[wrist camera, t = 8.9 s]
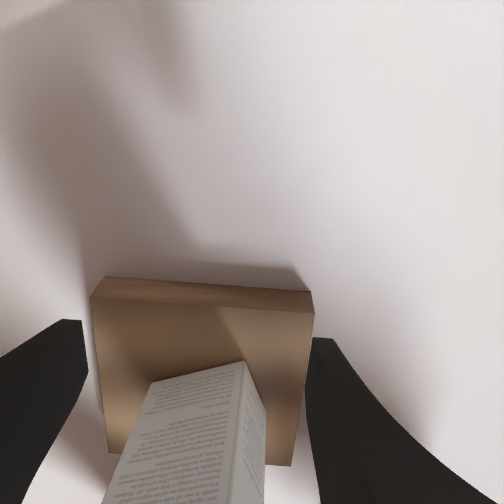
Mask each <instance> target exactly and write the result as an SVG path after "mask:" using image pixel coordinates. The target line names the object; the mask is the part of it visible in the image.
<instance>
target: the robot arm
mask: <svg viewBox="0 0 504 504" xmlns="http://www.w3.org/2000/svg"><path fill="white" fill-rule="evenodd" d="M88 372H89V371H88V364H87V357H86V350H85V342H84V335H83V328H82V320H69V319H61V320H59V321H58V322H56V323H54V324H53V325H51V326H49V327H48V328H46V329H45V330H43V331H41V332H40V333H38V334H37V335H35V336H34V337H32V338H31V339H29V340H28V341H26V342H24V343H23V344H21V345H20V346H18V347H17V348H15V349H13V350H12V351H10V352H9V353H7V354H5V355H4V356H2V357H1V358H0V504H21V503H22V501H23V499H24V497H25V495H26V492H27V490H28V488H29V486H30V484H31V482H32V480H33V478H34V476H35V474H36V472H37V470H38V468H39V467H40V465H41V463H42V461H43V460H44V458H45V456H46V454H47V453H48V451H49V449H50V447H51V446H52V444H53V442H54V441H55V439H56V437H57V435H58V434H59V432H60V430H61V428H62V427H63V425H64V423H65V421H66V420H67V418H68V416H69V414H70V412H71V411H72V409H73V407H74V405H75V403H76V402H77V399H78V397H79V394H80V392H81V390H82V387H83V385H84V382H85V380H86V377H87V375H88ZM305 400H306V417H307V424H308V430H309V436H310V442H311V447H312V453H313V459H314V464H315V470H316V476H317V482H318V487H319V494H320V501H321V504H497V503H496V502H494V501H493V500H491V499H490V498H488V497H487V496H485V495H484V494H482V493H481V492H479V491H478V490H477V489H475V488H474V487H473V486H471V485H470V484H469V483H467V482H466V481H465V480H463V479H462V478H461V477H459V476H458V475H456V474H455V473H454V472H453V471H451V470H450V469H449V468H448V467H446V466H445V465H444V464H443V463H441V462H440V461H439V460H438V459H437V458H436V457H434V456H433V455H432V454H431V453H430V452H429V451H427V450H426V449H425V448H424V447H423V446H422V445H421V444H419V443H418V442H417V441H416V440H415V439H414V438H413V437H412V436H411V435H410V434H409V433H408V432H407V431H406V430H405V429H404V428H403V427H402V426H401V425H400V424H399V423H398V422H397V421H396V420H395V419H394V418H393V417H392V416H391V415H390V414H389V413H388V412H387V410H386V409H385V408H384V407H383V406H382V405H381V403H380V402H379V401H378V400H377V399H376V398H375V396H374V395H373V394H372V393H371V391H370V390H369V389H368V388H367V386H366V385H365V384H364V382H363V381H362V380H361V378H360V377H359V376H358V374H357V373H356V372H355V370H354V369H353V368H352V366H351V365H350V363H349V362H348V360H347V359H346V357H345V356H344V354H343V353H342V351H341V350H340V348H339V347H338V345H337V344H336V342H335V341H334V340H333V339H330V338H316V337H313V339H312V346H311V352H310V358H309V365H308V371H307V377H306V384H305Z"/></svg>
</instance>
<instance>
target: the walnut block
mask: <svg viewBox="0 0 504 504" xmlns="http://www.w3.org/2000/svg"><path fill="white" fill-rule="evenodd" d="M90 304H91V312H92V320H93V329H94V337H95V345H96V353H97V361H98V369H99V377H100V385H101V393H102V401H103V410H104V418H105V426H106V434H107V442H108V450H109V453H119V454H122V452H123V450H124V448H125V445H126V443H127V440H128V438H129V436H130V433H131V431H132V429H133V426H134V423H135V421H136V418H137V416H138V414H139V411H140V409H141V407H142V404H143V402H144V399H145V397H146V395H147V392H148V390H149V387H150V385H151V383H153V382H157V381H162V380H166V379H170V378H174V377H178V376H182V375H187V374H191V373H195V372H199V371H203V370H207V369H211V368H215V367H220V366H224V365H228V364H232V363H236V362H240V361H245V362H246V364H247V367H248V369H249V372H250V374H251V377H252V379H253V382H254V384H255V387H256V389H257V392H258V394H259V397H260V399H261V401H262V404H263V406H264V408H265V411H266V440H265V465H278V466H291V462H292V456H293V450H294V443H295V437H296V430H297V424H298V418H299V411H300V405H301V398H302V392H303V386H304V379H305V373H306V367H307V360H308V354H309V347H310V341H311V335H312V328H313V322H314V316H315V312H314V307H313V301H312V296H311V292H309V291H295V290H282V289H268V288H255V287H241V286H227V285H214V284H200V283H186V282H173V281H159V280H146V279H132V278H118V277H104V278H103V280H102V281H101V282H100V284H99V285H98V286H97V288H96V289H95V290H94V292H93V293H92V294H91V296H90Z"/></svg>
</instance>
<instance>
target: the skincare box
mask: <svg viewBox="0 0 504 504" xmlns="http://www.w3.org/2000/svg"><path fill="white" fill-rule="evenodd" d="M265 440H266V411H265V408H264V406H263V404H262V401H261V399H260V397H259V394H258V392H257V389H256V387H255V384H254V382H253V379H252V377H251V374H250V372H249V369H248V367H247V364H246V362H245V361H240V362H236V363H232V364H228V365H224V366H220V367H215V368H211V369H207V370H203V371H199V372H195V373H191V374H187V375H182V376H178V377H174V378H170V379H166V380H162V381H157V382H153V383H151V385H150V387H149V390H148V392H147V395H146V397H145V399H144V402H143V404H142V407H141V409H140V411H139V414H138V416H137V418H136V421H135V423H134V426H133V429H132V431H131V433H130V436H129V438H128V440H127V443H126V445H125V448H124V450H123V452H122V455H121V457H120V460H119V462H118V464H117V467H116V469H115V471H114V474H113V477H112V479H111V481H110V484H109V486H108V488H107V491H106V494H105V496H104V498H103V501H102V503H101V504H264V475H265Z"/></svg>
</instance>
